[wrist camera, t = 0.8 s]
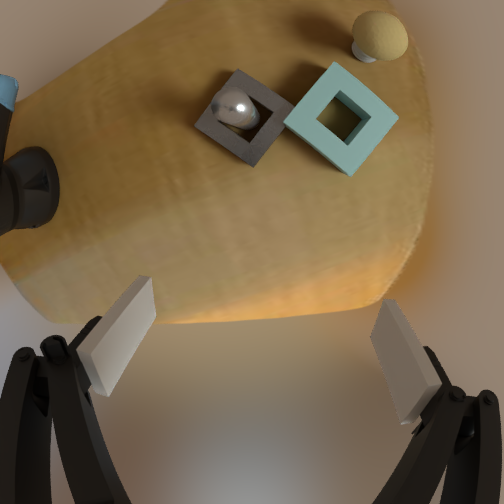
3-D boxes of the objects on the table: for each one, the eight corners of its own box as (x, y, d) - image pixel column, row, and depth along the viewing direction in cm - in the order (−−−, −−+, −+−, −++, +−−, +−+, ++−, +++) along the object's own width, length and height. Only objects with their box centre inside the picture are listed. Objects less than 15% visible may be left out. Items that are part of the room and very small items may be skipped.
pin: (230, 121, 33) (203, 109, 21) (245, 101, 31) (226, 80, 19) (250, 134, 33) (234, 130, 21) (265, 115, 32) (257, 100, 20)
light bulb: (390, 72, 27) (424, 54, 18) (348, 73, 28) (371, 52, 19) (377, 32, 25) (404, 5, 16) (334, 33, 26) (352, 1, 17)
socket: (282, 124, 32) (283, 121, 28) (328, 69, 29) (334, 61, 25) (343, 173, 34) (350, 177, 30) (387, 119, 30) (399, 117, 26)
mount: (199, 127, 33) (193, 126, 31) (240, 73, 30) (237, 68, 28) (254, 165, 34) (253, 167, 32) (297, 112, 31) (299, 109, 29)
